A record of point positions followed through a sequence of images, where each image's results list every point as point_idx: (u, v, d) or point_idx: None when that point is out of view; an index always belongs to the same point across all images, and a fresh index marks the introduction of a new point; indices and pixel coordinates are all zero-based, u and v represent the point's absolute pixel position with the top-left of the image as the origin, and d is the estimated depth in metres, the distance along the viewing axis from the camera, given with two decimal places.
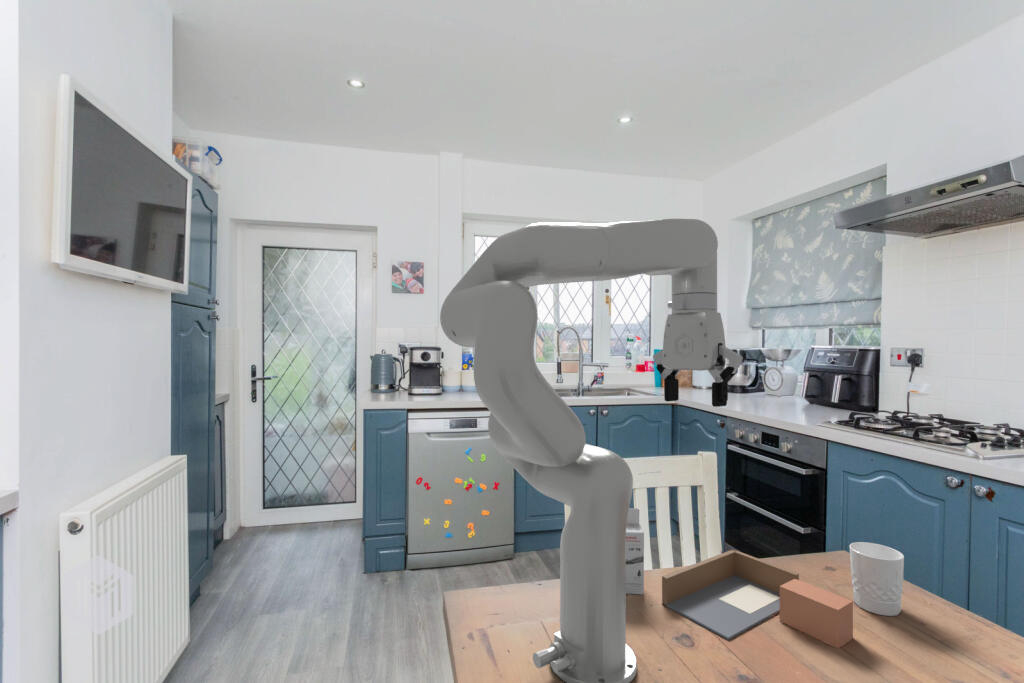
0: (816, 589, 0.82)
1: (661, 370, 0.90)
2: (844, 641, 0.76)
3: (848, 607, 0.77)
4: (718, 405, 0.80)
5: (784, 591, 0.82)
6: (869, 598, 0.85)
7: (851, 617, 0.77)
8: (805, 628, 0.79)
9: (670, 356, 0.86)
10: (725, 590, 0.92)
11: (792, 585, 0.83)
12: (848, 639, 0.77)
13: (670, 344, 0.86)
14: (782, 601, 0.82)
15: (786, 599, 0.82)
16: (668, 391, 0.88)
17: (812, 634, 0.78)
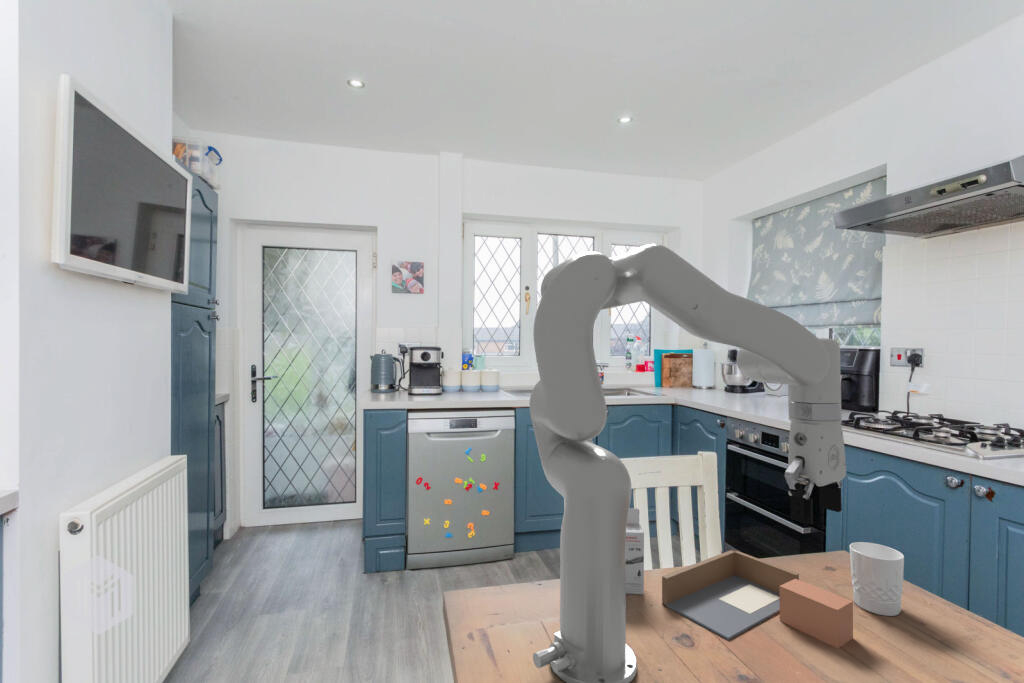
0: (817, 589, 0.81)
1: (801, 489, 0.76)
2: (844, 641, 0.76)
3: (848, 607, 0.77)
4: None
5: (784, 591, 0.82)
6: (869, 598, 0.85)
7: (851, 617, 0.77)
8: (805, 628, 0.79)
9: (825, 472, 0.77)
10: (725, 590, 0.92)
11: (792, 585, 0.83)
12: (848, 639, 0.77)
13: (824, 458, 0.77)
14: (781, 600, 0.82)
15: (785, 599, 0.82)
16: None
17: (812, 634, 0.78)
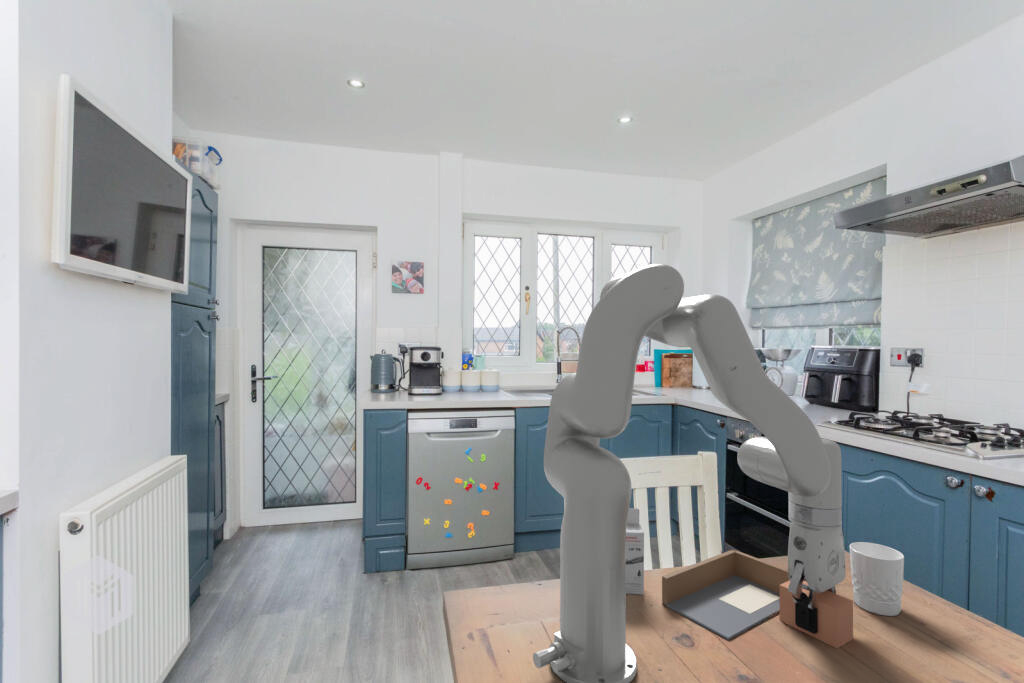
0: None
1: (806, 599, 0.77)
2: (843, 640, 0.76)
3: (848, 606, 0.77)
4: None
5: (784, 590, 0.82)
6: (869, 598, 0.85)
7: (851, 617, 0.77)
8: None
9: (824, 578, 0.76)
10: (725, 590, 0.92)
11: None
12: (848, 639, 0.77)
13: (824, 564, 0.76)
14: (781, 599, 0.82)
15: (785, 598, 0.82)
16: None
17: (811, 633, 0.78)
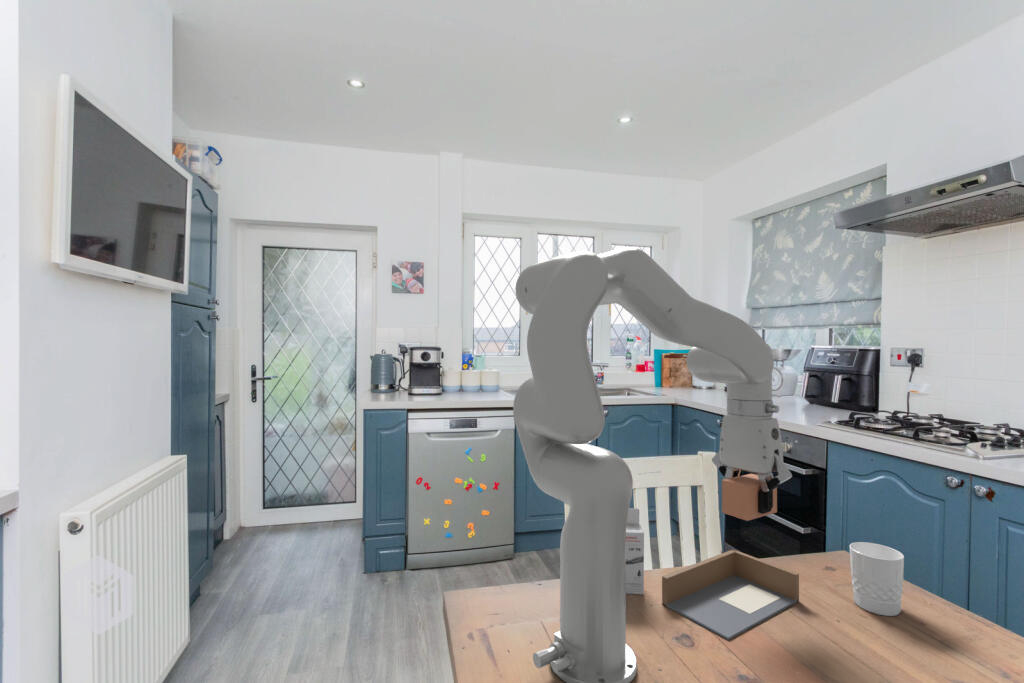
0: (739, 477, 0.91)
1: None
2: None
3: None
4: None
5: (749, 489, 0.85)
6: (869, 598, 0.85)
7: None
8: None
9: None
10: (725, 590, 0.92)
11: (740, 482, 0.87)
12: None
13: None
14: (748, 499, 0.85)
15: (750, 496, 0.85)
16: None
17: (764, 513, 0.87)
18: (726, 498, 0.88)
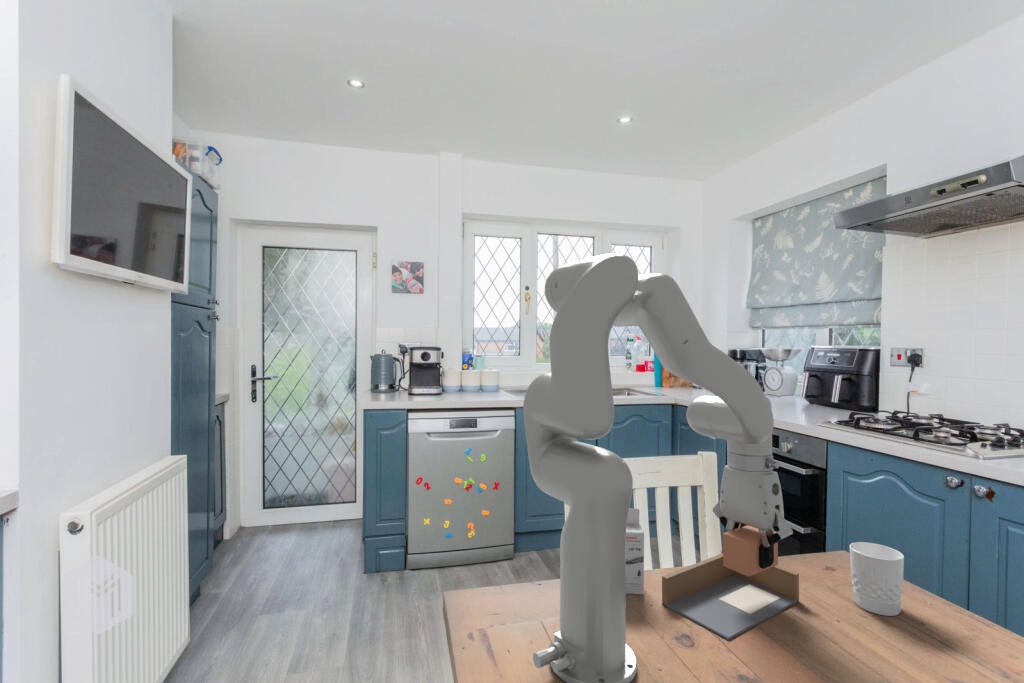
0: (739, 530, 0.91)
1: None
2: None
3: None
4: None
5: (750, 544, 0.85)
6: (869, 598, 0.85)
7: None
8: None
9: None
10: (725, 590, 0.92)
11: (741, 537, 0.87)
12: None
13: None
14: (749, 555, 0.85)
15: (751, 551, 0.85)
16: None
17: None
18: (727, 552, 0.88)
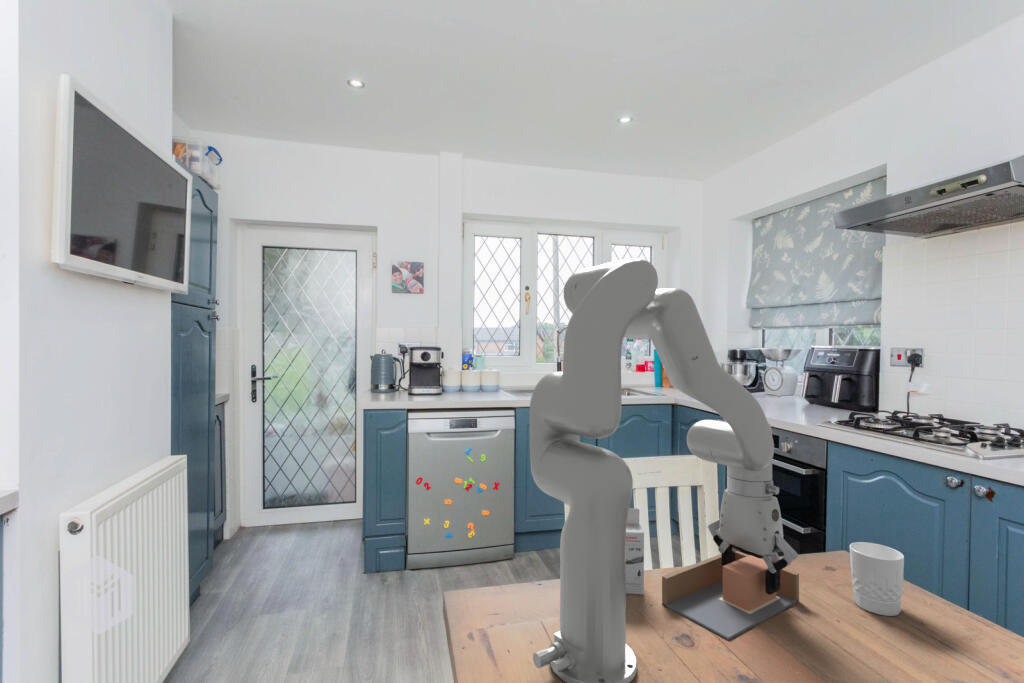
0: (739, 562, 0.90)
1: None
2: None
3: None
4: None
5: (751, 579, 0.85)
6: (869, 598, 0.85)
7: None
8: (762, 600, 0.87)
9: None
10: None
11: (741, 571, 0.87)
12: None
13: None
14: (750, 590, 0.85)
15: (752, 585, 0.85)
16: None
17: (765, 600, 0.87)
18: (727, 585, 0.88)
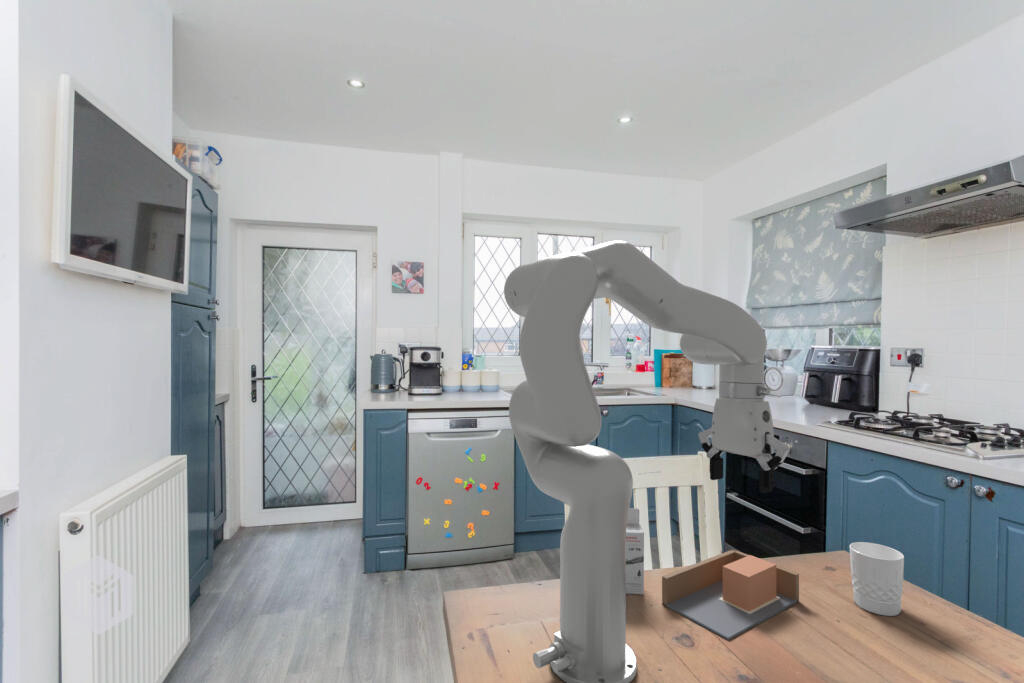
0: (739, 562, 0.90)
1: None
2: None
3: None
4: None
5: (751, 579, 0.85)
6: (869, 598, 0.85)
7: None
8: (762, 600, 0.87)
9: None
10: None
11: (741, 571, 0.87)
12: None
13: None
14: (750, 590, 0.85)
15: (752, 585, 0.85)
16: None
17: (765, 600, 0.87)
18: (727, 585, 0.88)
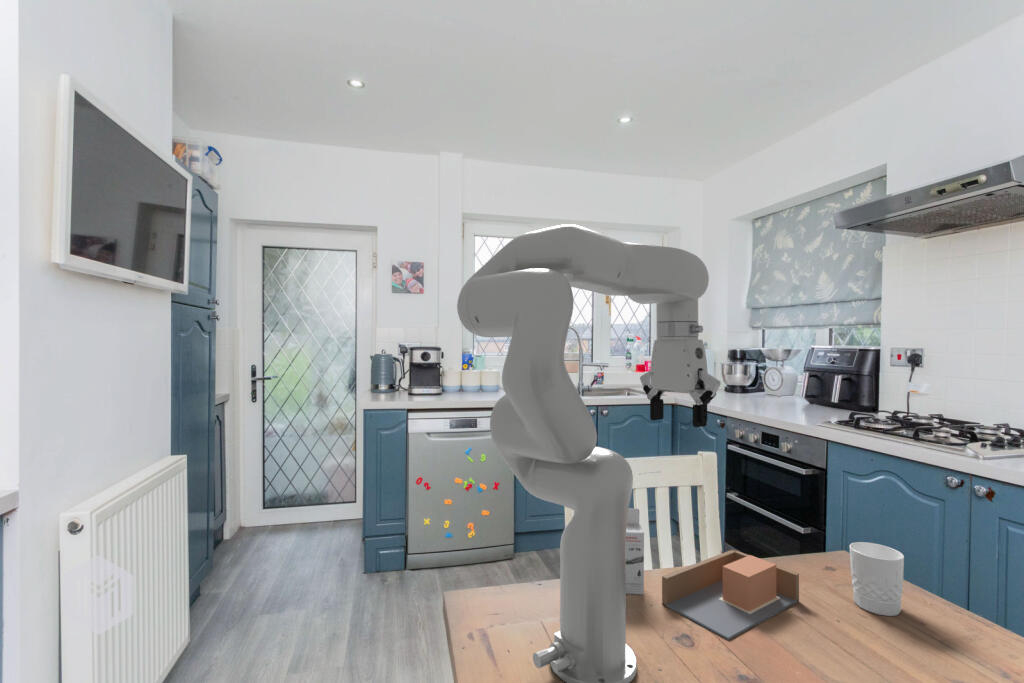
0: (739, 562, 0.90)
1: None
2: None
3: None
4: None
5: (751, 579, 0.85)
6: (869, 598, 0.85)
7: None
8: (762, 600, 0.87)
9: None
10: None
11: (741, 571, 0.87)
12: None
13: None
14: (750, 590, 0.85)
15: (752, 585, 0.85)
16: None
17: (765, 600, 0.87)
18: (727, 585, 0.88)
